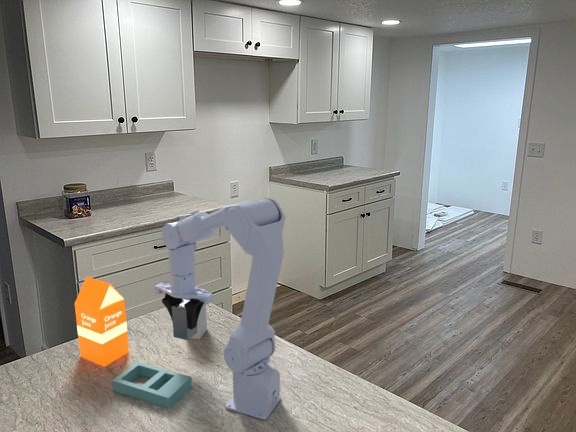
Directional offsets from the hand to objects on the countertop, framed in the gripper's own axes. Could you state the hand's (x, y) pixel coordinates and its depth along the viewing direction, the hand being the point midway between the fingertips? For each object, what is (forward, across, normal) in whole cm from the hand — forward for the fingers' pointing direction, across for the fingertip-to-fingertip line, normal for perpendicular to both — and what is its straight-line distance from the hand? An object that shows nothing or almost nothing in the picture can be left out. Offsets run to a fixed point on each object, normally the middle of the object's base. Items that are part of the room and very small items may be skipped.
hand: (185, 325), depth 111 cm
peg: (+2, 0, 0) cm, 2 cm away
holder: (+10, +1, +12) cm, 15 cm away
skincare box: (+10, +6, -13) cm, 18 cm away
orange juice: (+10, +21, +5) cm, 24 cm away
